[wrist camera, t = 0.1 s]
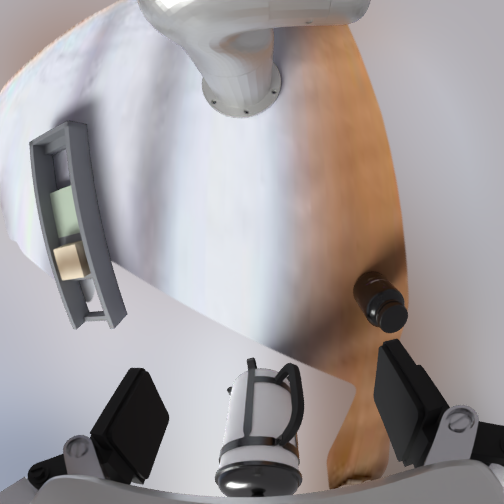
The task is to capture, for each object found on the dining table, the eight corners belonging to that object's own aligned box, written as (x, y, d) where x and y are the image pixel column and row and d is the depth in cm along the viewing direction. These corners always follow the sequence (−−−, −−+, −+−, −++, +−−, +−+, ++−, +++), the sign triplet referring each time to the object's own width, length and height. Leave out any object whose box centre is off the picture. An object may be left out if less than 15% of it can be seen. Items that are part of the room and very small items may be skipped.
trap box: (48, 143, 42) (29, 142, 37) (86, 124, 41) (68, 120, 36) (87, 316, 52) (73, 329, 46) (127, 314, 51) (114, 328, 45)
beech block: (65, 244, 45) (53, 249, 41) (87, 239, 45) (74, 244, 41) (73, 273, 47) (62, 280, 43) (95, 270, 46) (84, 277, 42)
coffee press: (306, 398, 55) (323, 517, 26) (237, 409, 57) (222, 524, 28) (294, 337, 51) (314, 477, 22) (213, 352, 52) (177, 483, 23)
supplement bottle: (373, 262, 46) (402, 288, 35) (392, 288, 47) (421, 317, 36) (344, 288, 48) (365, 320, 36) (364, 312, 49) (387, 347, 37)
